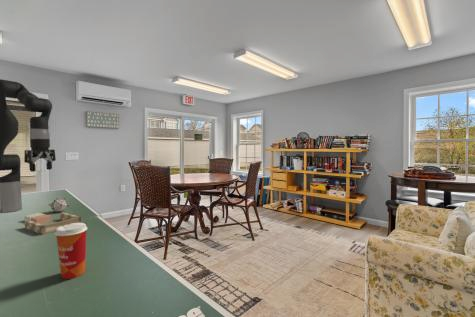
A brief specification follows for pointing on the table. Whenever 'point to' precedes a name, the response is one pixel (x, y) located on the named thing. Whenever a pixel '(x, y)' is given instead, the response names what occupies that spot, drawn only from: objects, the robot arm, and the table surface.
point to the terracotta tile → (41, 219)
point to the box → (52, 227)
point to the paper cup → (72, 249)
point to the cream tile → (28, 217)
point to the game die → (58, 205)
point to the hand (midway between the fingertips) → (41, 170)
